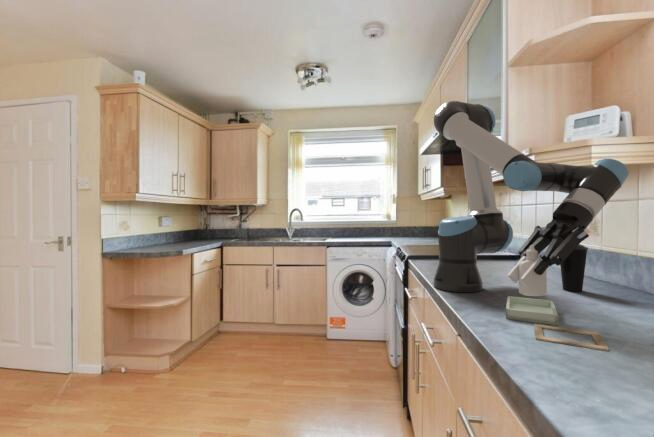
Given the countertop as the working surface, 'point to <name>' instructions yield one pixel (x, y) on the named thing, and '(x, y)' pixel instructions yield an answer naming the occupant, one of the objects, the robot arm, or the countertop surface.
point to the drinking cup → (574, 269)
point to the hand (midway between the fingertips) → (518, 280)
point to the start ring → (596, 337)
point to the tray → (531, 310)
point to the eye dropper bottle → (541, 282)
